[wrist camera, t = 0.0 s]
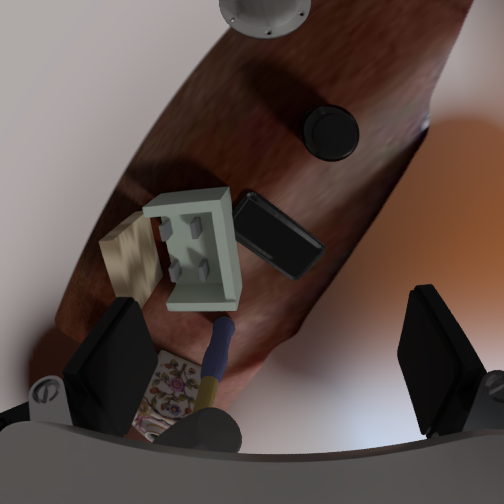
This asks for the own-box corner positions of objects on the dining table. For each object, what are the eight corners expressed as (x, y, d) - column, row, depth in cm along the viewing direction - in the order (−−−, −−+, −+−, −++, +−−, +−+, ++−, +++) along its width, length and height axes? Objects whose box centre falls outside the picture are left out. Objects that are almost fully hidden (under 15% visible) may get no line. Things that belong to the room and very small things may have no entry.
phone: (250, 189, 45) (328, 249, 48) (250, 187, 46) (327, 246, 49) (219, 229, 48) (295, 283, 51) (220, 226, 49) (295, 280, 52)
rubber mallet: (222, 349, 60) (187, 488, 33) (190, 328, 58) (139, 466, 31) (263, 313, 55) (243, 470, 28) (229, 288, 53) (184, 444, 26)
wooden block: (129, 212, 49) (92, 241, 38) (147, 210, 49) (113, 240, 38) (146, 276, 54) (117, 315, 43) (163, 275, 54) (136, 316, 43)
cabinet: (160, 193, 47) (142, 207, 41) (229, 186, 46) (220, 199, 39) (180, 287, 54) (168, 310, 48) (242, 286, 53) (236, 310, 47)
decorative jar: (212, 369, 63) (193, 439, 47) (195, 396, 68) (177, 459, 52) (159, 346, 62) (129, 413, 45) (148, 376, 67) (122, 437, 50)
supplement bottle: (333, 98, 39) (351, 94, 28) (353, 141, 41) (377, 153, 30) (289, 117, 41) (291, 119, 30) (311, 160, 43) (320, 177, 32)
